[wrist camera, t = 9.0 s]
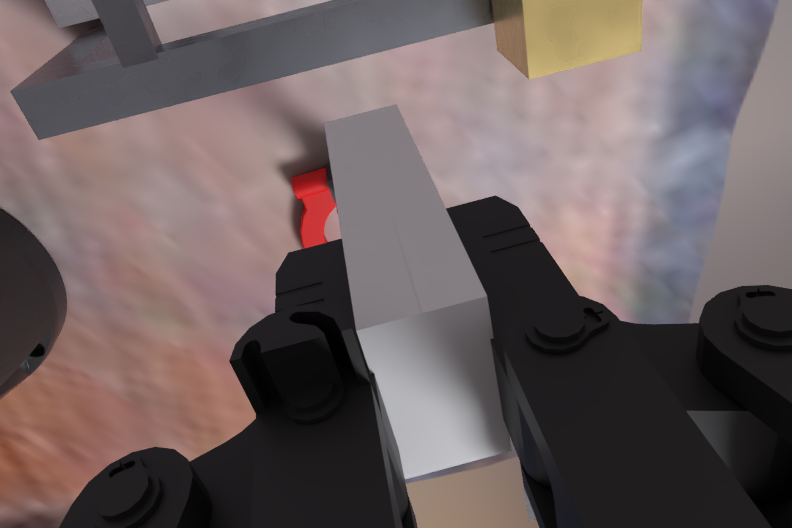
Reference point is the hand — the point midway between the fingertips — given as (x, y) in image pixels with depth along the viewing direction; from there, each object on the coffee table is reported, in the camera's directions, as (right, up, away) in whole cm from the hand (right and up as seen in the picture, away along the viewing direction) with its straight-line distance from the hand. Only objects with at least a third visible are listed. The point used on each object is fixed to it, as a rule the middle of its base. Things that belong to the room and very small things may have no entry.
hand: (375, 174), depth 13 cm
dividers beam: (-2, +14, +18) cm, 23 cm away
